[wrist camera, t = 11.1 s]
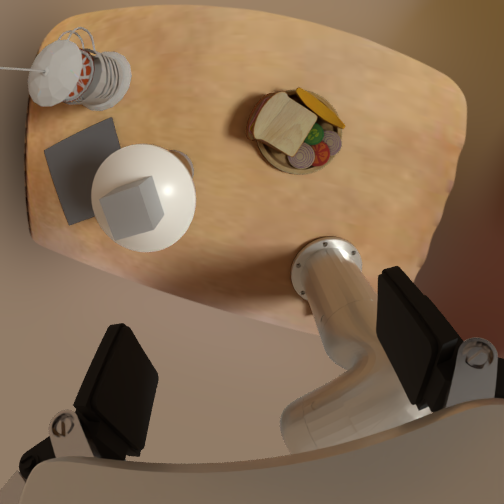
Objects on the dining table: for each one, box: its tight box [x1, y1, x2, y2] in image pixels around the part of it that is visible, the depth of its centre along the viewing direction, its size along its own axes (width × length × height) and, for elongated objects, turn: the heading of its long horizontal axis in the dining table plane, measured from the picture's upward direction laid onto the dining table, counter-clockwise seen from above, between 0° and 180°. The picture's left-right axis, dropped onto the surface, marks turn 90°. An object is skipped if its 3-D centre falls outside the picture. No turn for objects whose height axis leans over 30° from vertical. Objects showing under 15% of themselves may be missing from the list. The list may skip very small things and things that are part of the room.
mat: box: [44, 117, 121, 225], centre depth 39 cm, size 14×14×1 cm
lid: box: [91, 144, 196, 252], centre depth 25 cm, size 11×11×5 cm
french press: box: [0, 27, 132, 111], centre depth 22 cm, size 10×12×25 cm
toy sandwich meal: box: [246, 87, 345, 174], centre depth 37 cm, size 12×14×5 cm
